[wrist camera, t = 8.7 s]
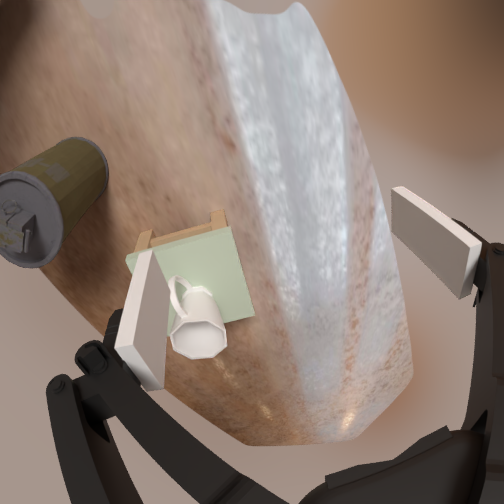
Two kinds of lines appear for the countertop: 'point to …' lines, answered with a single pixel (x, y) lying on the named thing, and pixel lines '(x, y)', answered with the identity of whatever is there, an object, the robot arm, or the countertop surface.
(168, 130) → the countertop surface
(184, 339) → the cup
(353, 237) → the countertop surface
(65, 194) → the canister
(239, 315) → the stool
